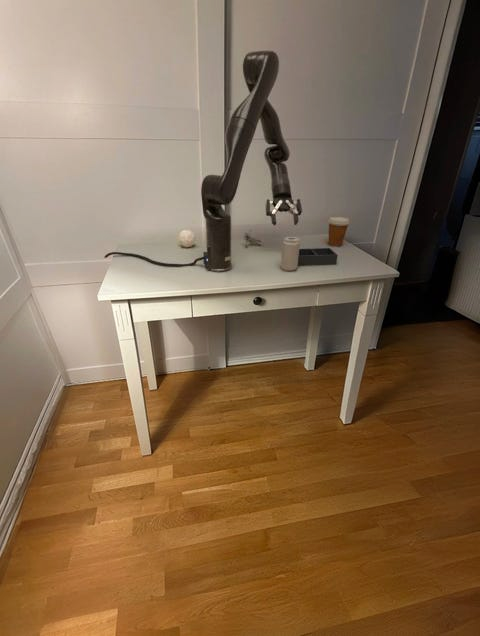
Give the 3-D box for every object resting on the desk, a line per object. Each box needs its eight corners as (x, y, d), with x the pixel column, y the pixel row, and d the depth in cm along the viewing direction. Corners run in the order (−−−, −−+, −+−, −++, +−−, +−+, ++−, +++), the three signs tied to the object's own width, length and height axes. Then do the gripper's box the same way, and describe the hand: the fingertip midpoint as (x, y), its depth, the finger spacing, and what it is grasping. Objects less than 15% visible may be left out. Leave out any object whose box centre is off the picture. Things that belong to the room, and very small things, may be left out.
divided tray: (295, 266, 125) (297, 256, 123) (290, 258, 132) (291, 249, 130) (336, 264, 127) (337, 254, 125) (328, 257, 134) (329, 247, 132)
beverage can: (296, 266, 125) (299, 236, 118) (297, 272, 119) (300, 241, 113) (280, 265, 125) (282, 235, 119) (280, 271, 120) (283, 240, 114)
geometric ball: (186, 251, 147) (185, 234, 148) (199, 247, 143) (198, 230, 144) (174, 246, 141) (174, 229, 142) (188, 243, 137) (187, 225, 137)
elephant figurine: (261, 249, 142) (243, 242, 140) (257, 255, 148) (239, 248, 146) (265, 231, 146) (247, 224, 144) (261, 237, 151) (243, 230, 149)
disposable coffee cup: (339, 248, 143) (344, 222, 137) (321, 244, 149) (324, 218, 143) (348, 244, 150) (353, 218, 143) (330, 240, 155) (334, 215, 149)
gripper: (265, 182, 123) (269, 219, 119) (300, 182, 124) (305, 218, 120) (262, 194, 130) (266, 229, 126) (295, 194, 131) (300, 228, 128)
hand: (285, 224), depth 123 cm, fingers open, 8 cm apart
